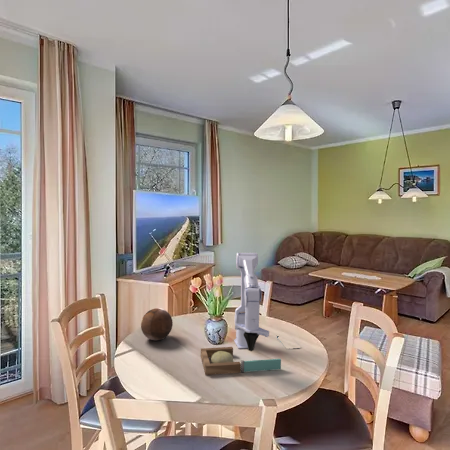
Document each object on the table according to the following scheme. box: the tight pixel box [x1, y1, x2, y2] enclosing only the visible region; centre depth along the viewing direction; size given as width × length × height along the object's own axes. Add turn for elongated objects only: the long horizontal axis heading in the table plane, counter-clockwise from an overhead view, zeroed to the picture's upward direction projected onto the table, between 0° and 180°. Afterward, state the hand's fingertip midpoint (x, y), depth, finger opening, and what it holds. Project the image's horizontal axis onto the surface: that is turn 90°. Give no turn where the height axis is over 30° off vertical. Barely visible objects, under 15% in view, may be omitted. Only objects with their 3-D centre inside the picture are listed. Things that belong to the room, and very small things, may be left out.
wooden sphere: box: [140, 307, 173, 342], centre depth 160 cm, size 15×15×15 cm
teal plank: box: [240, 358, 282, 373], centre depth 132 cm, size 17×1×4 cm, turn 101°
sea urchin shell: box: [210, 351, 234, 363], centre depth 137 cm, size 9×8×8 cm
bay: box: [200, 346, 242, 376], centre depth 137 cm, size 16×14×4 cm
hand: (251, 350), depth 134 cm, fingers closed
